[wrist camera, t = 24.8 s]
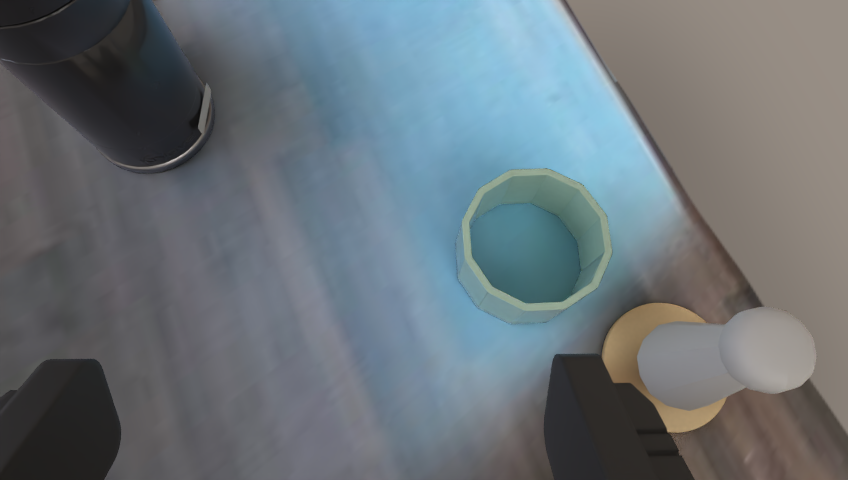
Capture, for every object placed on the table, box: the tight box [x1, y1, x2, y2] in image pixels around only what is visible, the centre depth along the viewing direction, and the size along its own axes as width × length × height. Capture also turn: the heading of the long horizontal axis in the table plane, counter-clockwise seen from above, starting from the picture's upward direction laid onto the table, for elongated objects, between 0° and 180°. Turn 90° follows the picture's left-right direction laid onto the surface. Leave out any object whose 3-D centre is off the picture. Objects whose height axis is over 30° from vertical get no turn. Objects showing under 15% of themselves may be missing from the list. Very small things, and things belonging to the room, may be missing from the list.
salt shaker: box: [637, 307, 817, 411], centre depth 34 cm, size 6×6×13 cm
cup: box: [455, 168, 612, 324], centre depth 41 cm, size 10×10×6 cm
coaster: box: [602, 303, 727, 433], centre depth 41 cm, size 9×9×1 cm
